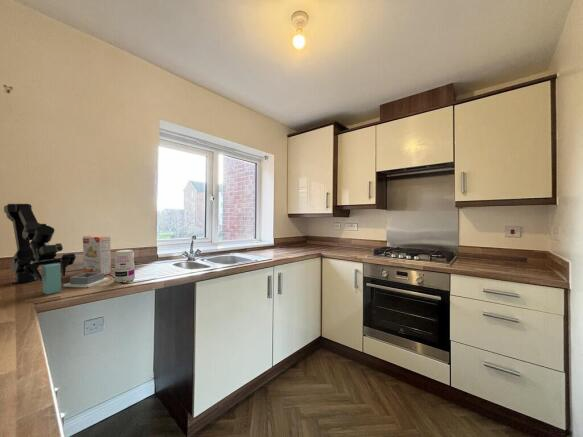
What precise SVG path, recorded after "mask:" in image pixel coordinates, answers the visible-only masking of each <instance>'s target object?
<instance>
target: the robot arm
mask: <svg viewBox="0 0 583 437" xmlns="http://www.w3.org/2000/svg"><path fill="white" fill-rule="evenodd" d="M32 209H33V206H32V205H31V204H29V203H7V204H6V205H4V206H3V212H4V214H6V218H7V219H8V220H10V221H11V222H12V226H13V232H14V238H15V244H16V252H15V254H13V258H12V260H11V263H10V270H11V271H12V272H15V281H12V282H11V283H12V284H26V283H30V282H31V283H32V282H34V281H39V282H41V281H42V282H43V277H42V275H41V273H40V271H39V267H40V266H41V267H42V265H49V264H55V263H56V264H60V269H61V275H62V277H65V276H66V271H67V270H66V268H67V267H68V266H73V264H74V262H75V260H76V258H77V256H76V254H75V253H72V252H70V253H65V254H62V256H61V257H58V258H56V257H57V253H58V252H61V251H63V249H64V248H63V244H62V243H55V244H50V243H49V242H51V240H52V239H53V236H54V233H55V228H54V227H52V226H51V225H47V223H40V222H38V220H37V218H36V215H35V214H34V212H33V210H32Z"/></svg>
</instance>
